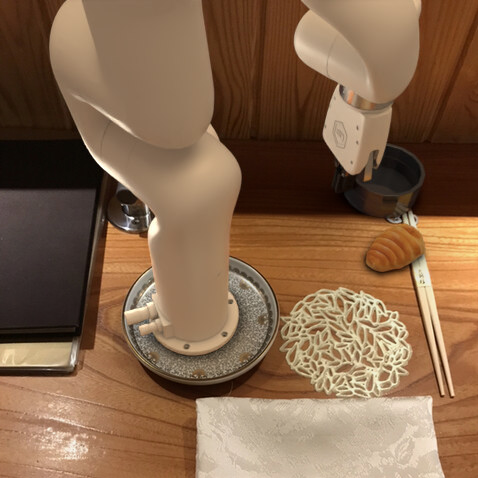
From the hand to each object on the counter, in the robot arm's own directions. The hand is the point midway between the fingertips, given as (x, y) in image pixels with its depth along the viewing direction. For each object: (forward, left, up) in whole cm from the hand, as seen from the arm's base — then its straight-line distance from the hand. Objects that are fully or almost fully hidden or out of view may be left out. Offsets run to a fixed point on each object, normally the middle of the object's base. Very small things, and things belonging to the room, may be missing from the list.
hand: (342, 188), depth 90 cm
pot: (+8, 0, -3) cm, 8 cm away
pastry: (+3, -13, -4) cm, 14 cm away
